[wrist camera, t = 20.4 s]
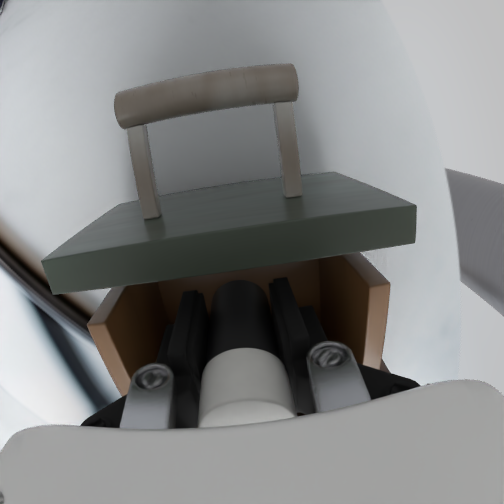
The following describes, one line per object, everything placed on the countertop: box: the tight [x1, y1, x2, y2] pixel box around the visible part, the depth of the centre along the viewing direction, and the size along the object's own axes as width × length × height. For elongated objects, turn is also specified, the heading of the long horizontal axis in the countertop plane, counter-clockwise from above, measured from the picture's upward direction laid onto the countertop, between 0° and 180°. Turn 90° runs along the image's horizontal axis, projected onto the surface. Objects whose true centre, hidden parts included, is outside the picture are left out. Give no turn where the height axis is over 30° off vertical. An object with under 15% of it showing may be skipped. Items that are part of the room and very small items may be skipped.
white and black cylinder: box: [198, 280, 298, 428], centre depth 10 cm, size 3×3×6 cm
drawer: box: [41, 63, 417, 428], centre depth 13 cm, size 19×11×8 cm, turn 7°
